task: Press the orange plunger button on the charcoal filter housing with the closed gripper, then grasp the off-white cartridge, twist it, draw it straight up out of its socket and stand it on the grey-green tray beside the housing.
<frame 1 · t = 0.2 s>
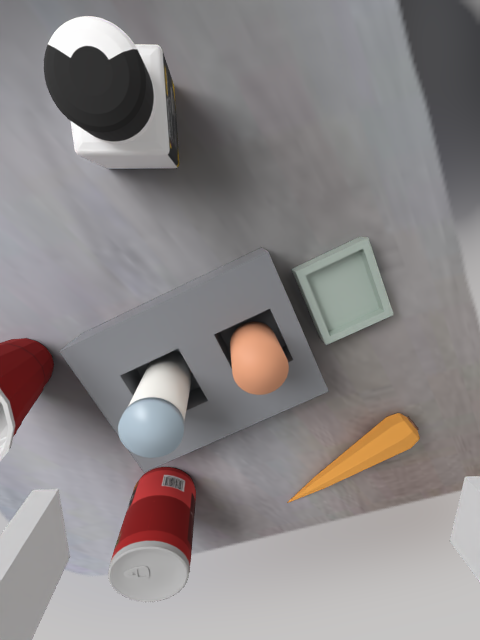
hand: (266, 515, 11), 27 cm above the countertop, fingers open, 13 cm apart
plastic cup: (27, 359, 37), on the countertop
housing: (202, 353, 38), on the countertop
plunger: (256, 355, 30), point 7 cm above the countertop, slide at 0.0 cm
carrot: (340, 455, 43), on the countertop
cartridge: (170, 371, 37), point 1 cm above the countertop, touching housing
canned food: (166, 487, 43), on the countertop
tray: (339, 290, 36), on the countertop
medicine bottle: (139, 128, 31), on the countertop
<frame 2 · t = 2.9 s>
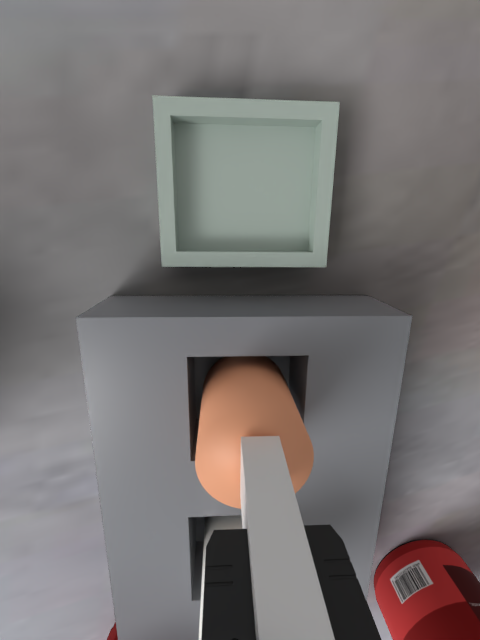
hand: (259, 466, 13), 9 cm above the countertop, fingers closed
housing: (240, 447, 23), on the countertop
plunger: (248, 419, 16), point 6 cm above the countertop, slide at 1.2 cm, touching gripper
cartridge: (240, 503, 23), point 1 cm above the countertop, touching housing
canned food: (413, 570, 28), on the countertop
tray: (243, 192, 19), on the countertop
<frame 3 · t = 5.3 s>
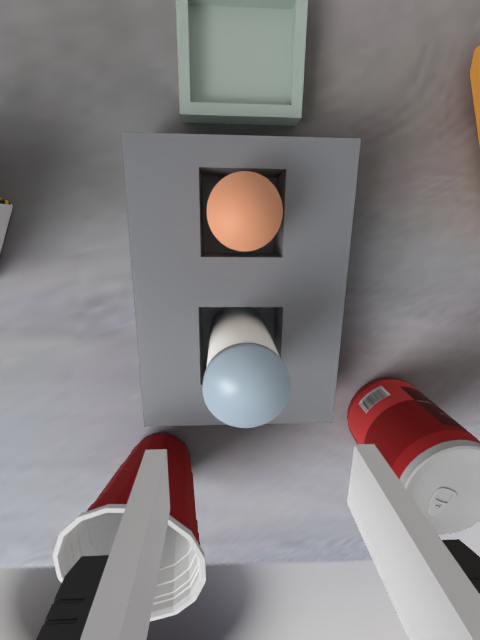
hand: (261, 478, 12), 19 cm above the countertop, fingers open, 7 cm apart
plastic cup: (160, 455, 34), on the countertop
housing: (238, 286, 29), on the countertop
plunger: (242, 214, 23), point 5 cm above the countertop, slide at 2.3 cm
cartridge: (238, 331, 30), point 1 cm above the countertop, touching housing
canned food: (380, 409, 34), on the countertop
tray: (240, 65, 25), on the countertop
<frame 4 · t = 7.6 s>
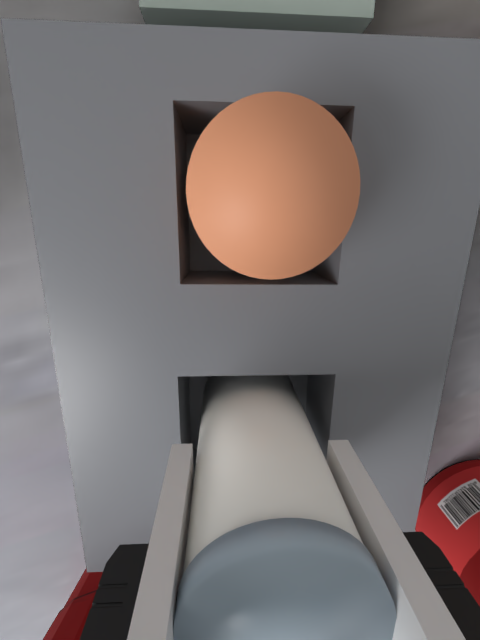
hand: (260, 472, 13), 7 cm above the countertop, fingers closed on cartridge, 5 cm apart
plastic cup: (128, 571, 23), on the countertop
housing: (248, 323, 18), on the countertop
plunger: (261, 201, 12), point 5 cm above the countertop, slide at 2.3 cm
cartridge: (248, 397, 18), point 1 cm above the countertop, touching gripper, housing
canned food: (461, 501, 22), on the countertop
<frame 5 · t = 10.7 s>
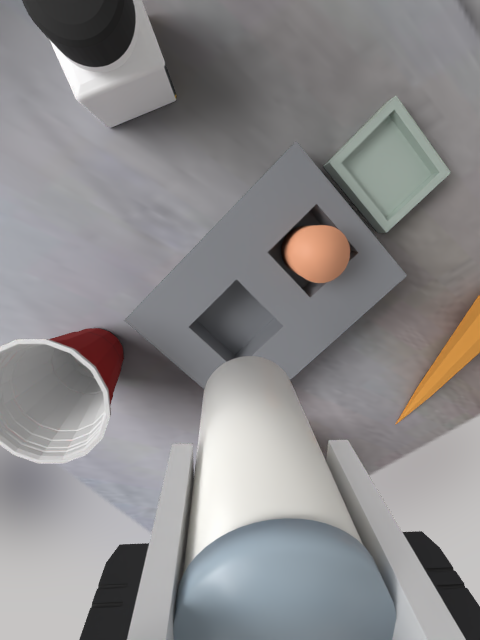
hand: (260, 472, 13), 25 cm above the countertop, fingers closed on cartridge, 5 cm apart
plastic cup: (97, 350, 37), on the countertop
housing: (260, 288, 36), on the countertop
plunger: (312, 252, 30), point 5 cm above the countertop, slide at 2.3 cm
carrot: (438, 357, 40), on the countertop
cartridge: (248, 398, 18), point 19 cm above the countertop, touching gripper
tray: (381, 171, 33), on the countertop
medicine bottle: (127, 75, 30), on the countertop
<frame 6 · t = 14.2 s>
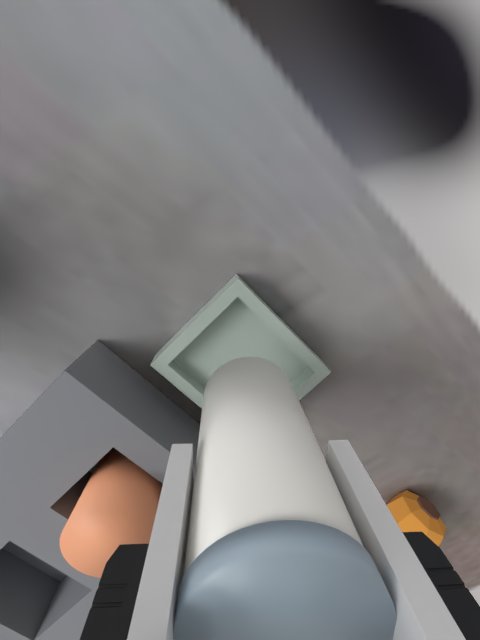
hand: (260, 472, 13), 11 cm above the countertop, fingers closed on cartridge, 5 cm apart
housing: (89, 498, 26), on the countertop
plunger: (121, 501, 21), point 5 cm above the countertop, slide at 2.3 cm
carrot: (345, 561, 30), on the countertop
cartridge: (248, 398, 18), point 6 cm above the countertop, touching gripper
tray: (240, 357, 23), on the countertop
when the fingers open (8 cm above the countertop, at t = 15.3 s): cartridge drops 2 cm, resting on tray.
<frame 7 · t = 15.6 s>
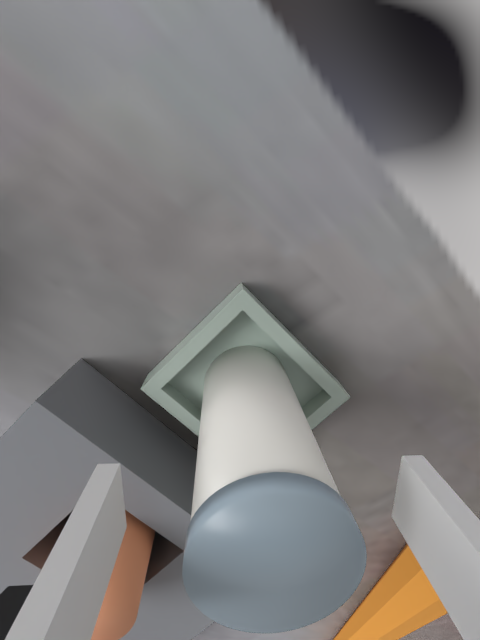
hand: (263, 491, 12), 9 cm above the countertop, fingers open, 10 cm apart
housing: (73, 534, 23), on the countertop
plunger: (106, 548, 18), point 5 cm above the countertop, slide at 2.3 cm
carrot: (361, 601, 27), on the countertop
cartridge: (245, 384, 20), point 1 cm above the countertop, touching tray
tray: (245, 377, 20), on the countertop
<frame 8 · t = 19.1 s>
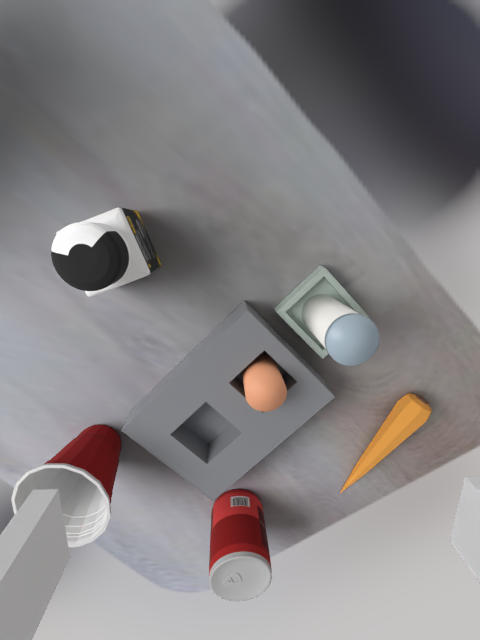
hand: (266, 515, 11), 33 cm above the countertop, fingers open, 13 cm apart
plastic cup: (100, 439, 47), on the countertop
housing: (228, 394, 46), on the countertop
plunger: (263, 381, 40), point 5 cm above the countertop, slide at 2.3 cm
carrot: (372, 441, 50), on the countertop
cartridge: (320, 312, 42), point 1 cm above the countertop, touching tray
canned food: (236, 506, 51), on the countertop
tray: (319, 310, 43), on the countertop
medicine bottle: (124, 249, 40), on the countertop
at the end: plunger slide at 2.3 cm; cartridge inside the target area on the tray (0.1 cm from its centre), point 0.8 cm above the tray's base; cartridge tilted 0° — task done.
